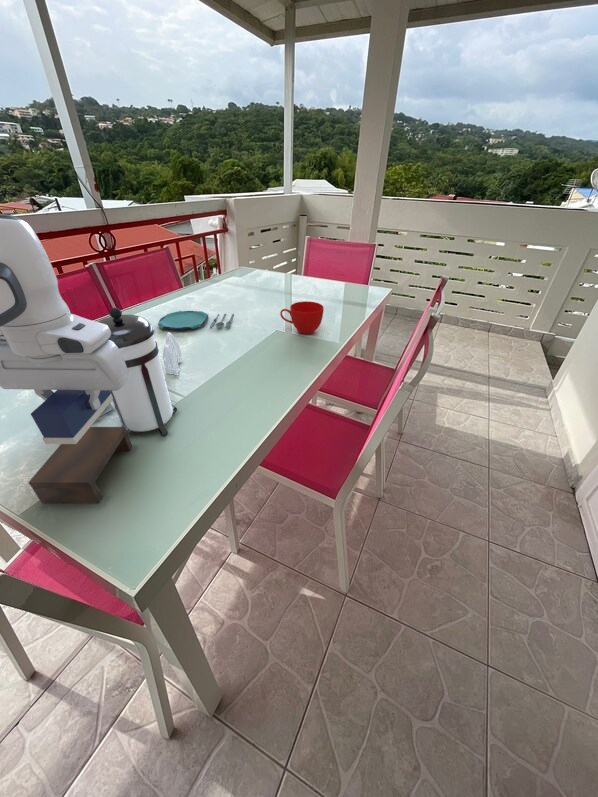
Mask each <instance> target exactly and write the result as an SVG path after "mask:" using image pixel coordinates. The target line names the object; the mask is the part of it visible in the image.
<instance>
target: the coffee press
mask: <svg viewBox="0 0 598 797" xmlns="http://www.w3.org/2000/svg"><path fill="white" fill-rule="evenodd" d="M108 315H109V316H108V317H105V318H102V319H100V320H98V321H97V322H99V323H102V324H105V325H107V326H108V327H109V328H110V331H111V336H110V337H109V339H108V340H110V341H112V342H113V343H115V344H116V346H117V347H118V348H119V350H120V352H121V354H122V356H123V359H124V361H125V364H126V366H127V369H128V373H129V378H128V380H127V381H126V383H125V384H124V385H123V386H122V387H121V388H120V389H119V390H116V391H114V390H109V392H110V394H112V397H113V400H112V403H113V405H114V408H115V411H116V414H117V416H118V418H119V421H120V424H121V426H120V427H126V430H127V433H128V435H129V434H130V432H131V431H132V432H140V433H141V432H150V431H153V430H157V431H158V432H159V434H160V436H161V437H164V436H165V435H167V434H168V433H169V431H168V429H167V428H166V426H165V424H167V423H168V422H169V421H170V420H171V418H172V416H173V414H174V413H176V412H177V411H178V407H176V406H175V405H174V404H172V401H171V396H170V393H169V389H168V385H167V382H166V377H165V374H164V369H163V366H162V363H161V362H162V361H161V358H160V354H159V351H160V350H159V347H158V346H159V345H158V343H157V341H156V339H155V335H154V334H155V328H154V325H153V324H151V323H150V322H149V320H147V319H146V318H145V317H143V316H139V315H136V314H123V312H122V310H121V309H119V308H118V307H112V308H110V309H109V314H108Z"/></svg>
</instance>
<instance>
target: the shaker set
mask: <svg viewBox="0 0 598 797" xmlns="http://www.w3.org/2000/svg"><path fill="white" fill-rule="evenodd" d="M165 337H166V338H165V345H164V346H163V349H162V360H163V364H164V367H165V370H166V373H167V374H168V375H175V377H176V376H180V374H179V373H180V370H181V369H180V366H179V363H182V361H183V355H182V352H181V348H180V345H179V342H178V341H177V339H176V338H175V337H174V335H173V334H172V333H171V332H167V333H166V336H165Z"/></svg>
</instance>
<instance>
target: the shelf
mask: <svg viewBox="0 0 598 797" xmlns="http://www.w3.org/2000/svg"><path fill="white" fill-rule="evenodd" d="M132 448H134V446H133V444H132V441H131V438H130V435H129V434H128V433H127V428H126V427H121V426H91V427H90V428H89V429H88V430H87V432H86V433H85V434H84V435H83V436H82V438H81V439H80V440H79V441H78V442H77V444H59V445H58V447H57V448H56V449H55V451H54V452H52V454H51V455H50V456H49V457H48V458H47V460H45V462H44V463H43V464H42V466H41V467H40V468H39V469H38V470H37V471H36V473H35V474H34V475H33V476H32V477H31V479H30V480H29V481H28V485H29V486H30V488H31V489H32V490H33V492H34V493H35V495H36V496H37V498H38V499H39V501H40V502H41V504H100V503H101V502H102V500H103V498H104V496H103V495H102V492H101V491H100V488H99V486H98V485H97V483H96V481H97V480H98V478H99V476H100V475H101V473H102V471H103V470H104V469H105V467H106V466H107V464H108V462H109V461H110V459H111V458H112V456H113V455H114V453H115V452H131V451H132Z"/></svg>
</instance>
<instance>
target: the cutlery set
mask: <svg viewBox="0 0 598 797" xmlns="http://www.w3.org/2000/svg"><path fill="white" fill-rule="evenodd" d="M218 317H220V314H219V313H218V314H217V315H216V317H215V318H213V321H212V322H211V324H210V325H209V328H210V329H213V326H214V325H215V327H216V328H219V329H220V328H223V327H224V326H225V327H224V329H229V328H230V327H231V326H232V321H233V319H234V317H235V313H232V314H231V316H230V318H229V320H228V321H227V322H226V323H225V322H224V320H225V318H226V317H227V313H224V314H223V316H222V319H221V321H220V322H217V321H218ZM208 321H209V314H208V313H207V312H204V311H202V310H198V311H197V310H183V311H182V310H178V311H174V312H170V313H167V314H166V315H164V316H162V317H161V318H160V319H159V321H158V324H157V326H158V328H160V329H163V328H165V329H169V330H188V329H192V330H194V329H197V328H201V327H202V325H204V324H205V323H207V322H208ZM215 323H216V324H215Z"/></svg>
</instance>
